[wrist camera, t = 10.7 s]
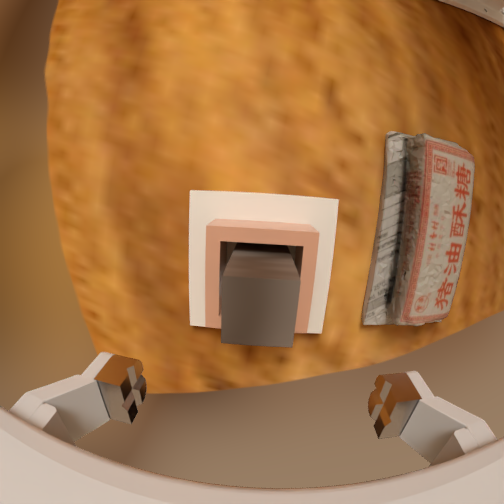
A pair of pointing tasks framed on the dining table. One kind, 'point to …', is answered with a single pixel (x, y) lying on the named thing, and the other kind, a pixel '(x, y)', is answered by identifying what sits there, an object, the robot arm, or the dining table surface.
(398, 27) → the dining table surface
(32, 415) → the robot arm
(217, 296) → the square socket base
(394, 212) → the packaged product
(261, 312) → the peg
